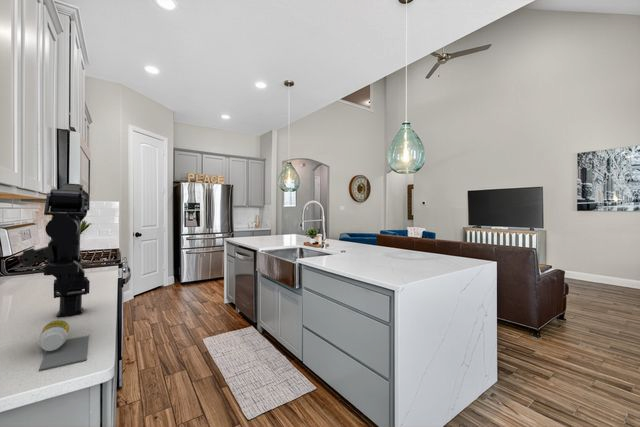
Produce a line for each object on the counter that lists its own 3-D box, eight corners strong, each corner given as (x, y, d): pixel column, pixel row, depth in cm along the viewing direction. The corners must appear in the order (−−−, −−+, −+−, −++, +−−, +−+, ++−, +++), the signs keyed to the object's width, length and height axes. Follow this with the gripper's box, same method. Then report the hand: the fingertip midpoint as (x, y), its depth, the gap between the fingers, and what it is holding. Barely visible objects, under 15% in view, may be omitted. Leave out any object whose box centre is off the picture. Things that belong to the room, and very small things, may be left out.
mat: (49, 344, 74) (49, 342, 74) (88, 336, 79) (88, 335, 79) (38, 371, 62) (38, 369, 62) (86, 360, 67) (86, 358, 67)
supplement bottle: (41, 341, 74) (34, 356, 67) (43, 320, 75) (38, 332, 67) (68, 338, 78) (65, 351, 70) (71, 318, 78) (68, 329, 71)
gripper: (29, 234, 79) (28, 290, 79) (13, 241, 64) (11, 310, 64) (82, 233, 86) (80, 285, 86) (78, 239, 71) (76, 302, 71)
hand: (63, 294), depth 76 cm, fingers closed
